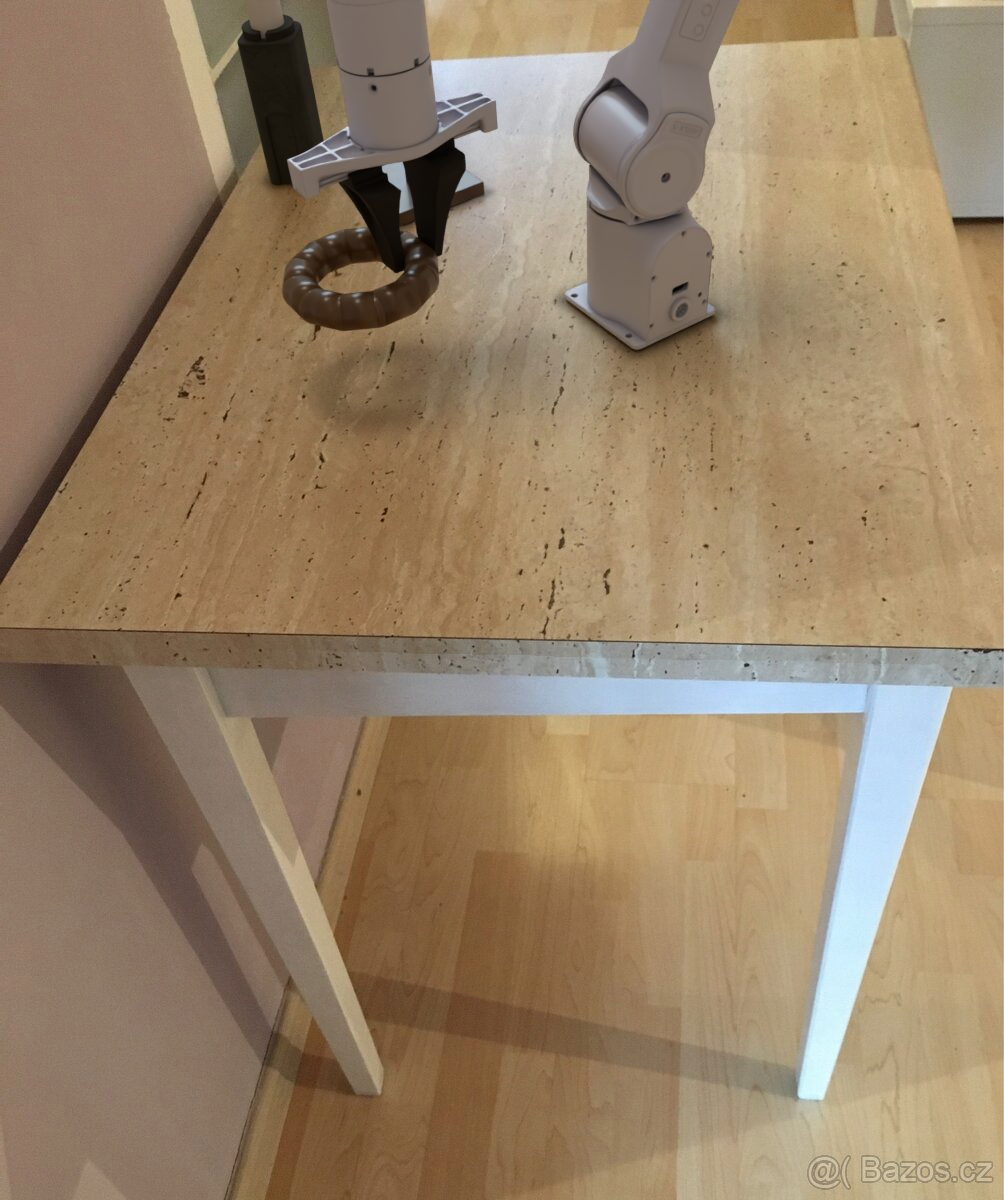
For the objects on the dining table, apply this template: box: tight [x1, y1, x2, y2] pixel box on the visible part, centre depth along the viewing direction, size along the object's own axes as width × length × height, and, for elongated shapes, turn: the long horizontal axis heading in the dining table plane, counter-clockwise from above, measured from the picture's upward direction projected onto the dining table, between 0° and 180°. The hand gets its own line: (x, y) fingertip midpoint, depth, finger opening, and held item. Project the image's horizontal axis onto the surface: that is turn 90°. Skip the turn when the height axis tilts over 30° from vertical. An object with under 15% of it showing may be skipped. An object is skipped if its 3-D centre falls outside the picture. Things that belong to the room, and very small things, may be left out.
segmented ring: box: [281, 226, 440, 332], centre depth 73 cm, size 11×11×2 cm
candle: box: [236, 0, 325, 185], centre depth 93 cm, size 5×5×25 cm
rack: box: [382, 162, 485, 227], centre depth 96 cm, size 9×9×5 cm
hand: (412, 258), depth 74 cm, fingers closed on segmented ring, 2 cm apart
